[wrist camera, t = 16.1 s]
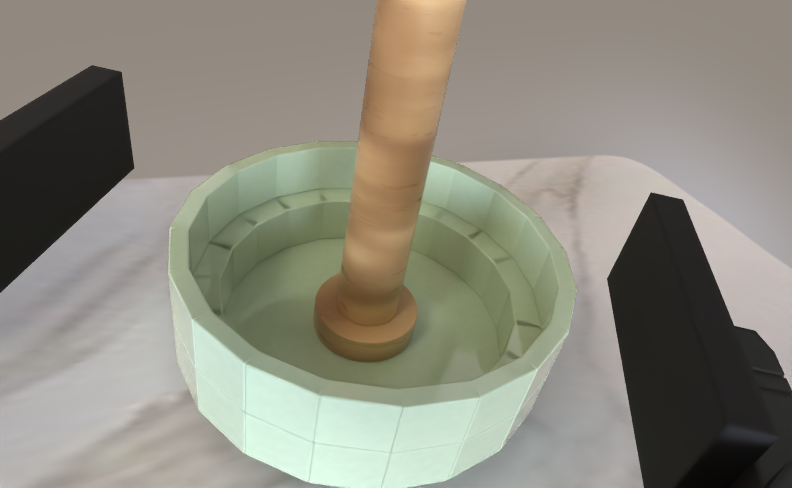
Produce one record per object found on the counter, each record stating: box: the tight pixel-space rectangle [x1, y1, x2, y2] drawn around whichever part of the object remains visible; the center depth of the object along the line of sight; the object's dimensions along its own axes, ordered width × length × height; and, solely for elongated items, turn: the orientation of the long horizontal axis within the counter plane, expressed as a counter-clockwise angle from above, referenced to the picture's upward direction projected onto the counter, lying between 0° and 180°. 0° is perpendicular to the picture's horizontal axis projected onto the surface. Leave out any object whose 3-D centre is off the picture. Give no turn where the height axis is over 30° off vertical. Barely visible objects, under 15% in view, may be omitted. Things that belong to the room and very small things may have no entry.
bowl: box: [168, 141, 577, 488], centre depth 25 cm, size 15×15×6 cm
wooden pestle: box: [313, 0, 466, 362], centre depth 20 cm, size 4×4×20 cm
